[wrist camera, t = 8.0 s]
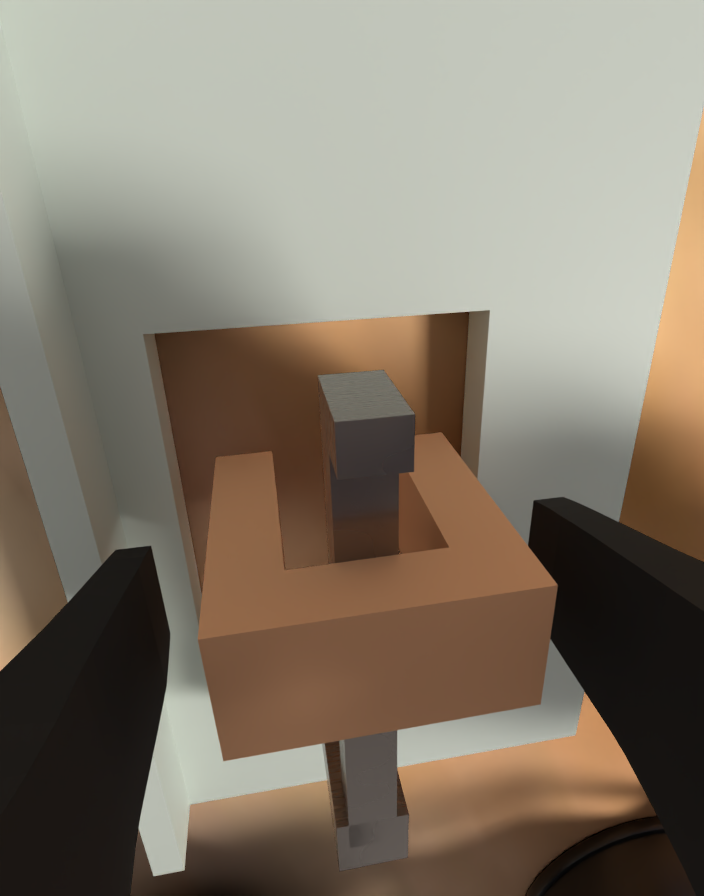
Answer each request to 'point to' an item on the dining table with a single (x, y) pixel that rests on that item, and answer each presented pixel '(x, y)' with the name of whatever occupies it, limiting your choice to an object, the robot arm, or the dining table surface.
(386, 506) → the hook arm
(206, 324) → the grey base plate
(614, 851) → the french press
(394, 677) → the peach u-shaped bracket
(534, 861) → the dining table surface
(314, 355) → the dining table surface
